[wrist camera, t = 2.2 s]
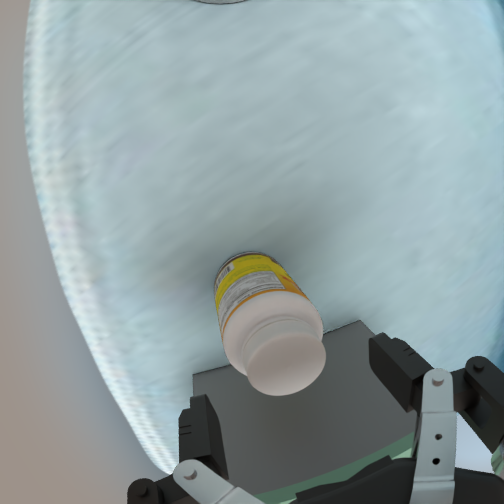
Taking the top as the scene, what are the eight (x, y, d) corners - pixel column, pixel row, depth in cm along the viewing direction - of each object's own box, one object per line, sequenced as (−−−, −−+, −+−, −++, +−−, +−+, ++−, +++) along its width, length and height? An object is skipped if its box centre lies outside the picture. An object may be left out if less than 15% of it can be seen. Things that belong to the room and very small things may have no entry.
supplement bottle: (287, 307, 24) (340, 390, 15) (220, 322, 23) (240, 417, 14) (280, 242, 22) (342, 304, 13) (206, 256, 22) (218, 333, 12)
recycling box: (192, 374, 25) (204, 517, 11) (360, 319, 26) (454, 419, 13) (239, 460, 30) (263, 556, 17) (361, 418, 31) (413, 499, 18)
